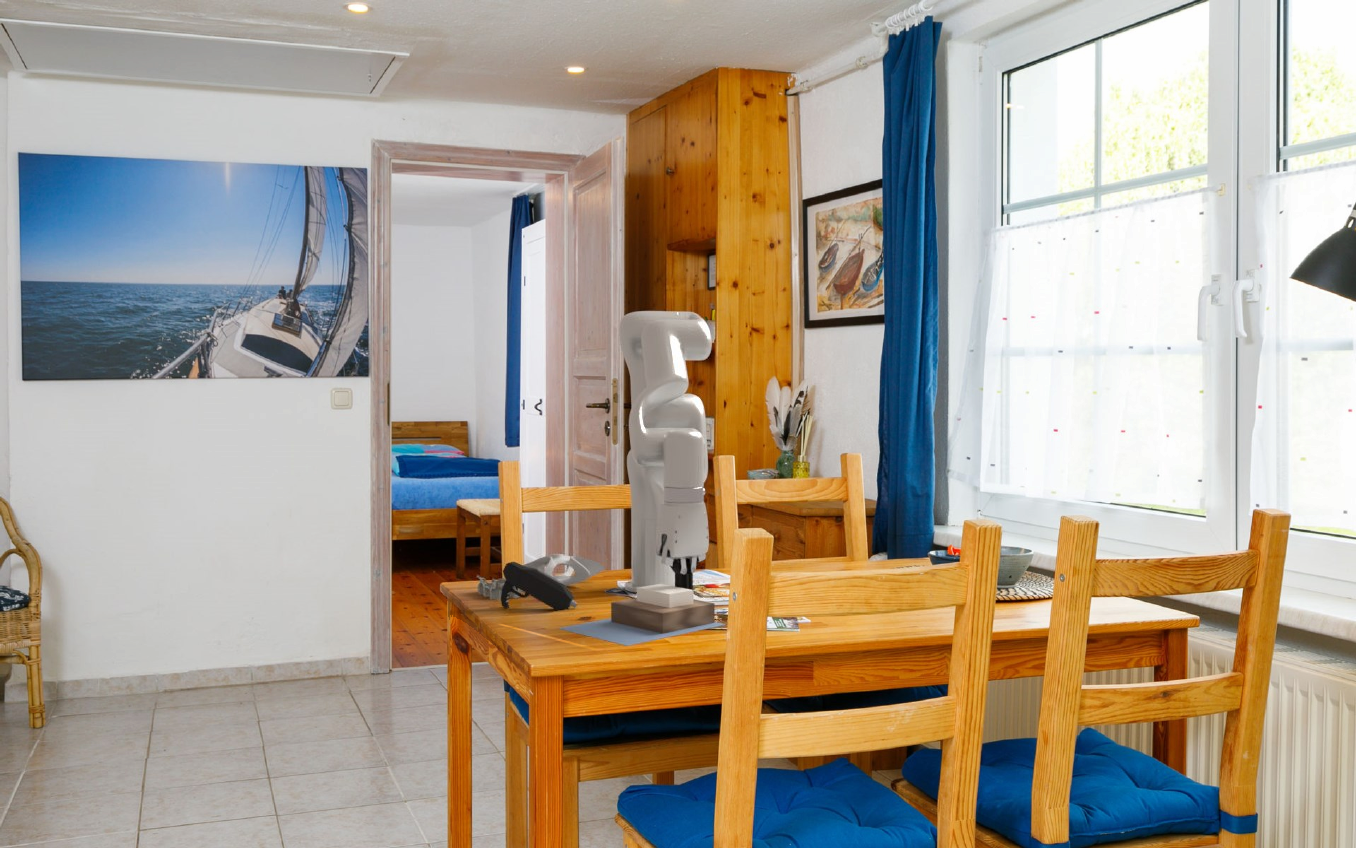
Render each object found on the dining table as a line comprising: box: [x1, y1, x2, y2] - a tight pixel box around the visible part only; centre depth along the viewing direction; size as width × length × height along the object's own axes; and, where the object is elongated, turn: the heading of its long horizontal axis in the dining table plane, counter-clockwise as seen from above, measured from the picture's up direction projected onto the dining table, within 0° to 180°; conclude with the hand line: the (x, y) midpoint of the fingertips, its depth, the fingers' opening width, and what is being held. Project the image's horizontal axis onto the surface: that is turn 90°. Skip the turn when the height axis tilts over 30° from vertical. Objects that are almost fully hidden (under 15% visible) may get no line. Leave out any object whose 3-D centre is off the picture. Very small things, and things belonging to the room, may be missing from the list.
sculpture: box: [522, 553, 605, 587], centre depth 249 cm, size 18×20×6 cm
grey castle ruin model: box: [476, 574, 522, 601], centre depth 235 cm, size 11×8×4 cm
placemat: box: [557, 617, 727, 647], centre depth 202 cm, size 24×19×1 cm
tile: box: [636, 584, 694, 608], centre depth 206 cm, size 6×9×2 cm, turn 43°
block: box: [610, 597, 716, 634], centre depth 206 cm, size 13×14×4 cm
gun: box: [500, 561, 578, 612], centre depth 220 cm, size 3×16×10 cm, turn 79°
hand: (683, 593), depth 209 cm, fingers closed
